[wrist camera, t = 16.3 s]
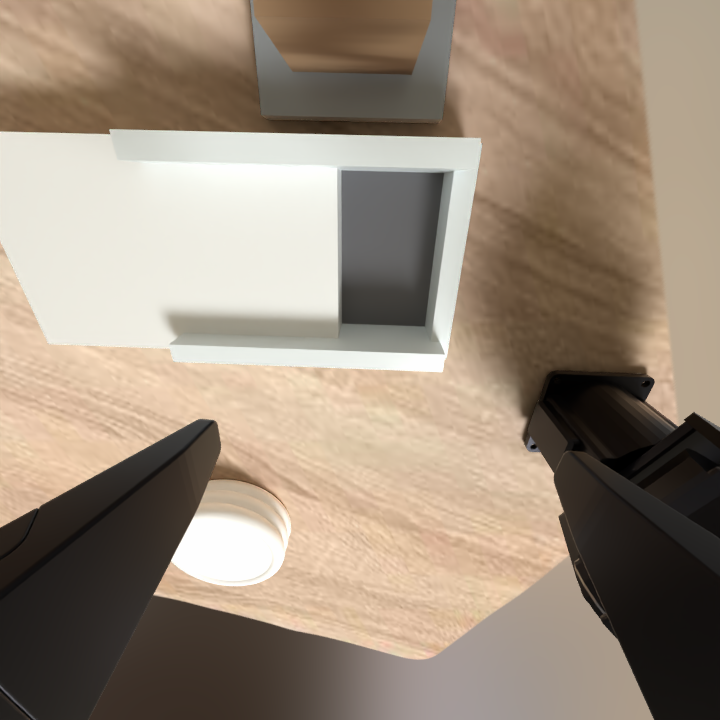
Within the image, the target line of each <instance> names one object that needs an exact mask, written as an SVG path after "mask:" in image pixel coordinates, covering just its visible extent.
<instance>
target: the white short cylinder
mask: <svg viewBox="0 0 720 720" xmlns="http://www.w3.org/2000/svg"><path fill="white" fill-rule="evenodd" d="M290 532H291V521H290V517H289V514H288V512H287V510H286V508H285V507H284V505H283V504H282V503H281V502H280V501H279V500H278V499H277V498H276V497H275V496H273V495H272V494H271V493H269V492H268V491H266V490H264V489H262V488H260V487H258V486H255V485H253V484H250V483H247V482H242V481H237V480H226V479H223V480H210V481H209V482H208V485H207V487H206V490H205V492H204V495H203V497H202V500H201V502H200V505H199V507H198V509H197V511H196V513H195V515H194V517H193V519H192V521H191V523H190V525H189V527H188V529H187V531H186V533H185V535H184V537H183V538H182V540H181V542H180V544H179V546H178V548H177V550H176V552H175V554H174V556H173V558H172V560H171V562H172V563H173V564H175V565H176V566H177V567H178V568H179V569H181V570H182V571H184V572H185V573H187V574H189V575H191V576H193V577H195V578H197V579H200V580H203V581H206V582H209V583H213V584H218V585H225V586H246V585H252V584H256V583H259V582H261V581H264V580H266V579H268V578H269V577H271V576H272V575H274V574H275V573H276V572H277V571H278V570H279V568H280V567H281V565H282V563H283V561H284V558H285V550H286V548H287V545H288V538H289V535H290Z"/></svg>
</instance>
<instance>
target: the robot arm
mask: <svg viewBox="0 0 720 720" xmlns="http://www.w3.org/2000/svg"><path fill="white" fill-rule="evenodd" d="M558 377H559V378H558ZM556 378H558V379H557V380H556V381H554V379H556ZM644 381H645V382H644ZM643 382H644V383H643ZM654 382H655V381H654V379H653V378H651V377H650V376H648V375H646V374H628V373H602V372H575V371H553V372H551V373H550V374H549V375H548V376H547V378H546V381H545V384H544V387H543V390H542V393H541V396H540V399H539V401H538V402H537V403H536V406H535V409H534V412H533V415H532V418H531V421H530V424H529V427H528V430H527V431H528V434H527V437H526V440H525V444H524V445H525V446H526V448H527V450H528V451H530V452H541V453H542V455H543V456H544V458H545V460H546V461H547V463H548V464H549V466H550V467H551V469H552V471H553V472H554V483H555V487H556V490H557V493H558V495H559V498H560V501H561V504H562V507H563V510H564V512H563V513H562V514H561V515H560V516H559V520H560V524H561V527H562V530H563V534H564V537H565V541H566V544H567V547H568V551H569V554H570V557H571V561H572V564H573V568H574V571H575V575H576V578H577V581H578V583H579V586H580V588H581V592H582V594H583V596H584V598H585V599H586V601H587V602H588V603H589V604H590V605H591V607H592V608H593V610H594V611H595V612H596V614H597V615H598V616H599V618H600V619H601V621H602V622H603V624H604V625H605V626H606V627H607V628H608V630H610V632H611V633H612V634H613V635H614V636H615V637H616V638H617V639H618V641H619V642H620V645H621V647H622V649H623V652H624V654H625V656H626V658H627V661H628V663H629V665H630V667H631V669H632V672H633V674H634V676H635V678H636V681H637V683H638V685H639V687H640V690H641V692H642V694H643V696H644V698H645V701H646V703H647V705H648V707H649V709H650V712H651V714H652V716H653V718H654V720H720V427H718V426H716V425H715V424H713V423H711V422H710V421H708V420H706V419H705V418H703V417H701V416H700V415H698V414H696V413H695V412H694V413H692V414H691V415H690V416H688V417H687V418H686V419H684V420H685V421H686V422H684V423H683V424H682V425H680V426H679V427H678V426H676V425H675V424H674V423H673V422H671V421H670V420H669V419H668V418H666V417H665V416H664V415H662V414H661V413H660V412H659V411H657V410H656V409H655V408H653V407H652V406H651V405H650V404H648V403H647V402H646V401H645V400H646V398H647V397H648V395H649V393H650V391H651V389H652V387H653V385H654ZM532 444H534V445H532ZM220 450H221V442H220V436H219V430H218V425H217V422H216V421H214V420H208V419H199V420H196V421H195V422H193V423H191V424H189V425H187V426H185V427H184V428H182V429H180V430H178V431H176V432H175V433H173V434H171V435H169V436H167V437H165V438H164V439H162V440H160V441H158V442H156V443H154V444H153V445H151V446H149V447H147V448H145V449H143V450H142V451H140V452H138V453H136V454H134V455H133V456H131V457H129V458H127V459H125V460H123V461H122V462H120V463H118V464H116V465H114V466H112V467H111V468H109V469H107V470H105V471H103V472H101V473H100V474H98V475H96V476H94V477H92V478H91V479H89V480H87V481H85V482H83V483H81V484H80V485H78V486H76V487H74V488H72V489H70V490H69V491H67V492H65V493H63V494H61V495H59V496H58V497H56V498H54V499H52V500H50V501H48V502H47V503H45V504H43V505H41V506H40V508H39V509H38V508H36V509H34V510H32V511H30V512H28V513H26V514H25V515H23V516H21V517H19V518H17V519H16V520H14V521H12V522H10V523H8V524H6V525H4V526H2V527H1V528H0V720H88V719H89V718H90V715H91V714H92V712H93V710H94V708H95V706H96V704H97V702H98V700H99V698H100V696H101V694H102V692H103V691H104V689H105V687H106V685H107V683H108V681H109V679H110V677H111V675H112V673H113V671H114V669H115V667H116V666H117V664H118V662H119V659H120V658H121V656H122V654H123V652H124V650H125V648H126V646H127V644H128V642H129V640H130V638H131V637H132V635H133V633H134V631H135V629H136V627H137V625H138V623H139V621H140V619H141V617H142V615H143V613H144V611H145V610H146V608H147V606H148V604H149V602H150V600H151V598H152V596H153V594H154V592H155V590H156V589H157V587H158V585H159V583H160V581H161V579H162V577H163V575H164V573H165V571H166V569H167V567H168V565H169V564H170V562H171V560H172V558H173V556H174V554H175V552H176V550H177V548H178V546H179V544H180V542H181V540H182V538H183V537H184V535H185V533H186V531H187V529H188V527H189V525H190V523H191V521H192V519H193V517H194V515H195V513H196V511H197V509H198V507H199V505H200V502H201V500H202V497H203V495H204V492H205V490H206V487H207V485H208V482H209V479H210V477H211V474H212V472H213V469H214V467H215V464H216V462H217V459H218V456H219V454H220Z"/></svg>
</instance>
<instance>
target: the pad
mask: <svg viewBox="0 0 720 720" xmlns="http://www.w3.org/2000/svg"><path fill="white" fill-rule="evenodd" d="M250 5H251V15H252V26H253V36H254V46H255V57H256V67H257V78H258V88H259V99H260V109H261V115H262V116H263V117H265V118H266V119H270V120H313V121H355V122H398V123H439V122H440V121H441V120H442V119H443V110H444V102H445V93H446V85H447V76H448V67H449V59H450V50H451V42H452V33H453V24H454V16H455V7H456V0H433V2H432V12H431V21H430V24H429V27H428V30H427V32H426V35H425V38H424V41H423V44H422V47H421V50H420V53H419V55H418V58H417V61H416V64H415V67H414V70H413V73H412V75H401V74H362V73H323V72H292V70H291V69H290V67H289V66H288V64H287V63H286V61H285V60H284V58H283V57H282V56H281V54H280V53H279V51H278V50H277V48H276V47H275V45H274V44H273V42H272V41H271V39H270V38H269V37H268V35H267V34H266V32H265V31H264V29H263V28H262V26H261V25H260V23H259V22H258V20H257V19H256V18H255V16H254V6H253V0H250Z"/></svg>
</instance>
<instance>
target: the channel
mask: <svg viewBox="0 0 720 720" xmlns="http://www.w3.org/2000/svg"><path fill="white" fill-rule="evenodd" d="M109 131H110V134H80V133H39V132H0V242H1V244H2V246H3V248H4V250H5V252H6V254H7V257H8V259H9V261H10V263H11V265H12V267H13V269H14V272H15V274H16V276H17V278H18V280H19V282H20V284H21V286H22V289H23V291H24V293H25V295H26V297H27V299H28V301H29V304H30V306H31V308H32V310H33V312H34V314H35V316H36V319H37V321H38V323H39V325H40V327H41V329H42V331H43V333H44V336H45V338H46V340H47V342H48V344H58V345H85V346H113V347H140V348H167V349H170V351H171V355H172V358H173V362H191V363H218V364H244V365H271V366H298V367H324V368H351V369H377V370H404V371H431V372H443V366H444V360H445V359H446V358H447V353H448V347H449V341H450V335H451V329H452V323H453V317H454V311H455V305H456V299H457V293H458V287H459V281H460V275H461V269H462V263H463V257H464V251H465V245H466V239H467V233H468V227H469V221H470V215H471V209H472V203H473V198H474V192H475V186H476V180H477V174H478V168H479V162H480V156H481V150H482V144H483V143H480V142H481V138H456V137H415V136H374V135H332V134H291V133H250V132H209V131H167V130H126V129H109Z"/></svg>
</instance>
